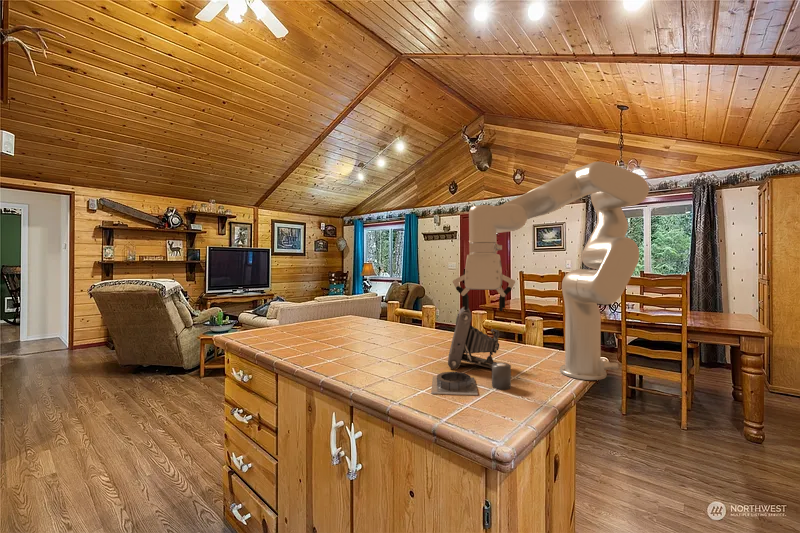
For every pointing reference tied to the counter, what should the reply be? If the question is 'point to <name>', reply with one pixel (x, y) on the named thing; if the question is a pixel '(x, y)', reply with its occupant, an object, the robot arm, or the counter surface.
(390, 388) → the counter surface
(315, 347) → the counter surface
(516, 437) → the counter surface
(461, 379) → the mount
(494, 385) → the dark grey cylinder
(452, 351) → the camera
